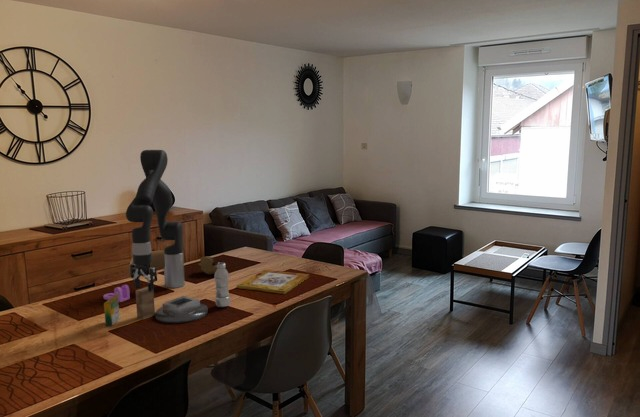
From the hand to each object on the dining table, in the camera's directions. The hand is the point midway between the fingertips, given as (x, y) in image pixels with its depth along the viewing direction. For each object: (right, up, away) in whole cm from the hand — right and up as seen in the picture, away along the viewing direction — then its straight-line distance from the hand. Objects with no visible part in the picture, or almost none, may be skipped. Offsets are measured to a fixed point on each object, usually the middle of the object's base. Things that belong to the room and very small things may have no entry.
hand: (144, 289), depth 209 cm
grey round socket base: (+15, -11, +5) cm, 19 cm away
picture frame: (+51, -5, +49) cm, 71 cm away
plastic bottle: (+31, -10, +13) cm, 35 cm away
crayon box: (-11, -13, -5) cm, 18 cm away
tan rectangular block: (0, -12, +2) cm, 12 cm away
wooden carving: (+13, -2, +66) cm, 67 cm away
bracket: (-23, -9, +25) cm, 35 cm away
